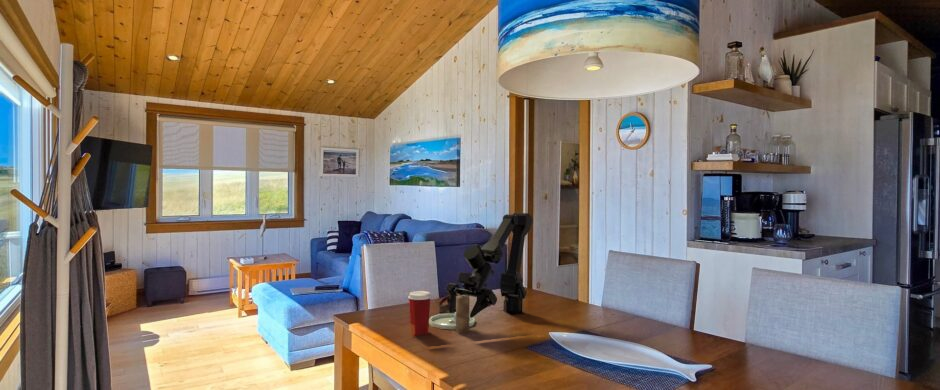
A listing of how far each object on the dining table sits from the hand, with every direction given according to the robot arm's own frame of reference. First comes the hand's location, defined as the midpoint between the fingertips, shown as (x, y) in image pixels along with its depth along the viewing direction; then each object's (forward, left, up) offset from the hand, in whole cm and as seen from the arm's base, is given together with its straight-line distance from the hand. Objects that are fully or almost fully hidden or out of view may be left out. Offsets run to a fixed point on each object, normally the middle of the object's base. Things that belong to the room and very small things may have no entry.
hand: (460, 314), depth 166 cm
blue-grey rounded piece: (-5, -14, -6) cm, 16 cm away
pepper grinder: (-1, -1, -7) cm, 7 cm away
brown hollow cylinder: (-6, -26, -7) cm, 28 cm away
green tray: (-1, -12, -7) cm, 14 cm away
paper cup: (+13, -4, -7) cm, 15 cm away
